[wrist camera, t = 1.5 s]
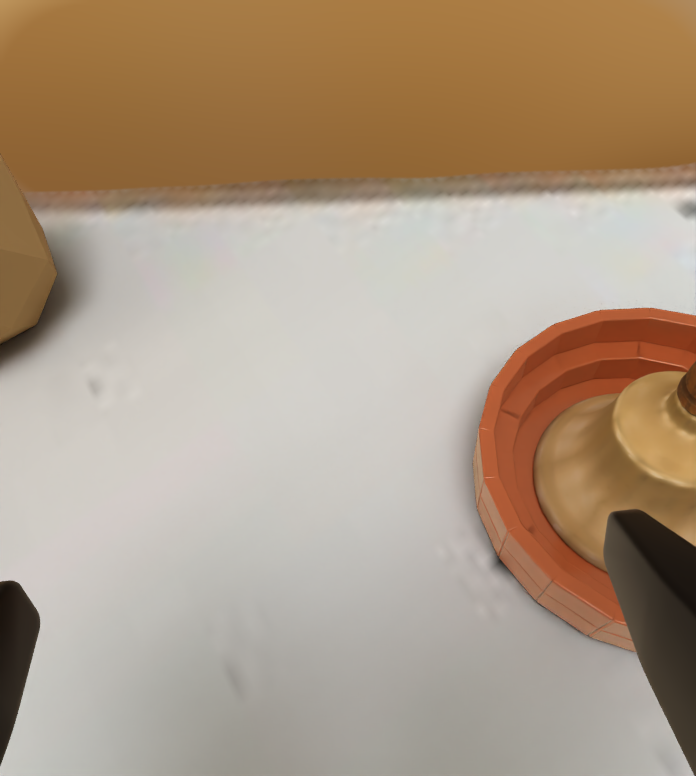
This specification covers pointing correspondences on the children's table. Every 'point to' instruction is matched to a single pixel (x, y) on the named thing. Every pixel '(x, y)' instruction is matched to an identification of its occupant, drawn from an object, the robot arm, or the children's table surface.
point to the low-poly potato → (21, 261)
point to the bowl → (527, 424)
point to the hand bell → (621, 461)
